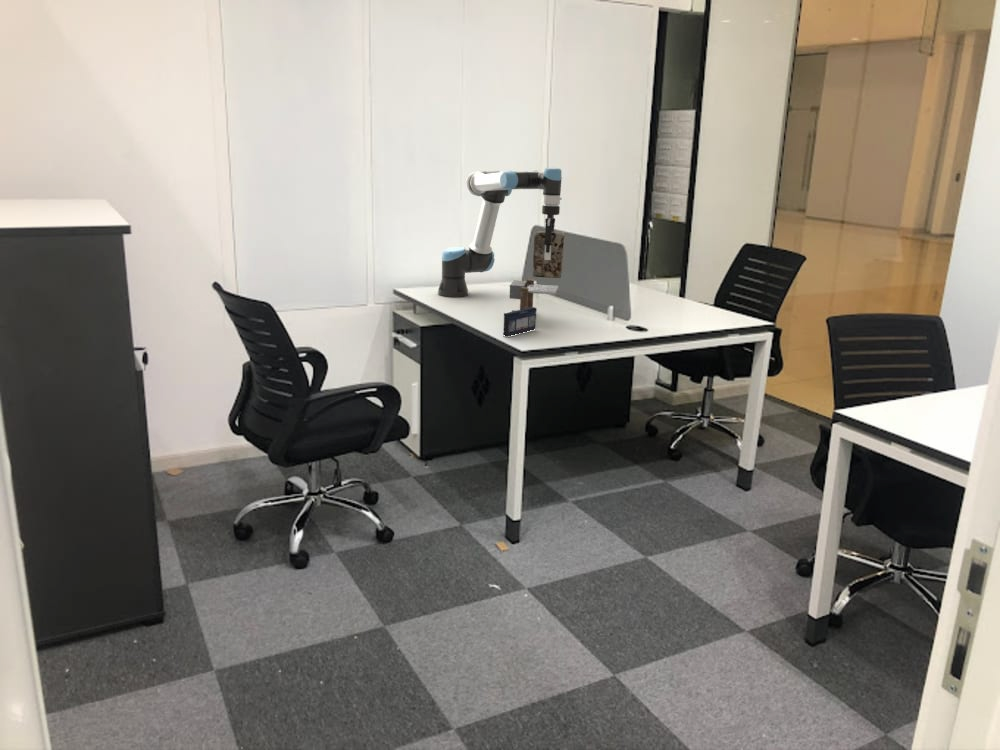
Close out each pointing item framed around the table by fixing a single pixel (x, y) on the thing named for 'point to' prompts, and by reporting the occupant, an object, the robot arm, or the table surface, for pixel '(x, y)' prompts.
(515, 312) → the vhs cassette tape
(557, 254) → the stone block
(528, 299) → the trapdoor stand
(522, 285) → the trapdoor plate
